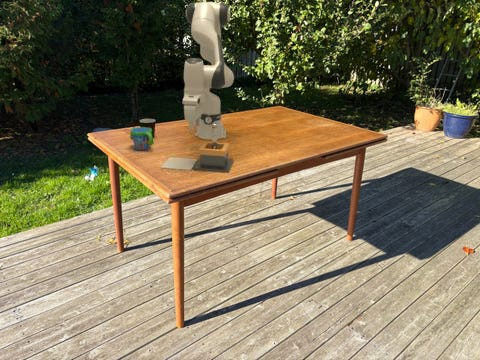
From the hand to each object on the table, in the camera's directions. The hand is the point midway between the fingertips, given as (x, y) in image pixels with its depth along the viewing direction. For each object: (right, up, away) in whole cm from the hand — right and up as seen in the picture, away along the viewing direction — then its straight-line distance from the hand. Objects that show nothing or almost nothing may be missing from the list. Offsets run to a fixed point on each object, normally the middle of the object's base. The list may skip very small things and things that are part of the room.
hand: (195, 128), depth 168 cm
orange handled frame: (+6, -10, +4) cm, 12 cm away
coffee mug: (-33, 0, +43) cm, 54 cm away
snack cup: (-30, -7, +25) cm, 40 cm away
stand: (+8, -17, +6) cm, 20 cm away
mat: (-8, -16, +6) cm, 19 cm away
